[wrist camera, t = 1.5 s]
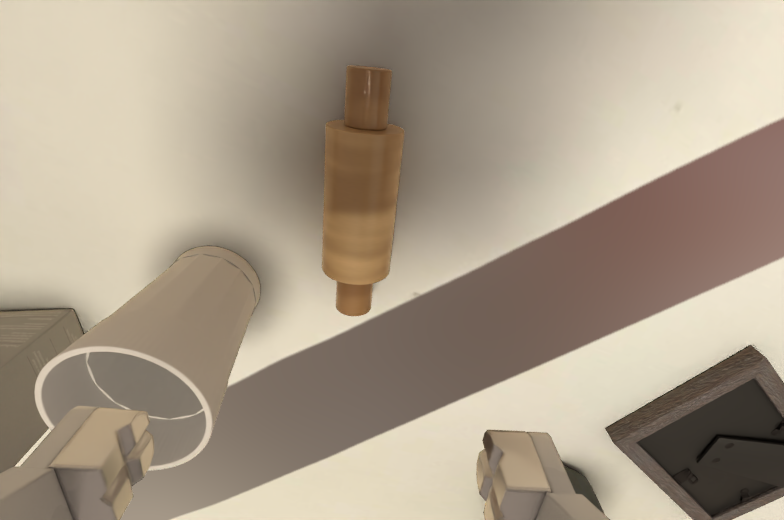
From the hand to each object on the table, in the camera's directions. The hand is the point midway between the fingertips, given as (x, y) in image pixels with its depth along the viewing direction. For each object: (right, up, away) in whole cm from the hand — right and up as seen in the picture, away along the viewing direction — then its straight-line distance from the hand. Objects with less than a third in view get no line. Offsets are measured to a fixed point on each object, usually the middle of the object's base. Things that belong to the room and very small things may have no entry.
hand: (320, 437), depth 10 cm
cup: (-11, +3, +20) cm, 23 cm away
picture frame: (+32, -12, +29) cm, 45 cm away
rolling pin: (0, +9, +17) cm, 19 cm away
